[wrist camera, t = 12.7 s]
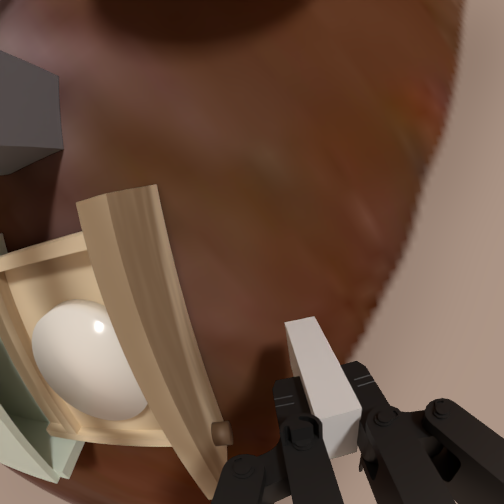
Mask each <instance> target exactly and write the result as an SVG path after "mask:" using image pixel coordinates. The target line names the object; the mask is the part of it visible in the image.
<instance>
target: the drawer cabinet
mask: <svg viewBox="0 0 504 504" xmlns="http://www.w3.org/2000/svg"><path fill="white" fill-rule="evenodd" d="M4 254H7V249H6V245H5V241H4V237H3V233H1V234H0V256H1V255H4ZM49 423H50V421H49V420H48V419H47V417H46V416H45V414H44V413H43V412H42V410H41V409H40V407H39V406H38V404H37V403H36V401H35V399H34V398H33V396H32V395H31V393H30V392H29V390H28V388H27V387H26V385H25V383H24V382H23V380H22V378H21V376H20V375H19V373H18V371H17V369H16V367H15V366H14V364H13V362H12V360H11V358H10V356H9V354H8V352H7V350H6V348H5V346H4V344H3V342H2V340H1V338H0V463H2V464H4V465H7V466H9V467H11V468H14V469H16V470H19V471H21V472H24V473H27V474H29V475H32V476H35V477H38V478H41V479H44V480H47V481H50V482H53V483H58V481H59V478H60V477H63V478H67V479H69V478H70V476H71V473H72V471H73V469H74V466H75V464H76V462H77V459H78V457H79V455H80V452H81V450H82V448H83V445H84V443H85V442H84V441H77V440H71V439H64V438H59V437H53V436H50V435H49V433H48V432H47V431H46V428H47V427H48V425H49Z"/></svg>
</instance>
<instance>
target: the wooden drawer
mask: <svg viewBox="0 0 504 504" xmlns="http://www.w3.org/2000/svg"><path fill="white" fill-rule="evenodd" d="M76 206H77V210H78V215H79V219H80V223H81V228H82V231H81V232H78V233H74V234H70V235H67V236H63V237H60V238H56V239H53V240H49V241H46V242H43V243H39V244H36V245H33V246H29V247H26V248H23V249H20V250H17V251H13V252H10V253H7V254H4V255H1V256H0V338H1V340H2V342H3V344H4V346H5V348H6V350H7V352H8V354H9V356H10V358H11V360H12V362H13V364H14V366H15V367H16V369H17V371H18V373H19V375H20V376H21V378H22V380H23V382H24V383H25V385H26V387H27V388H28V390H29V392H30V393H31V395H32V396H33V398H34V399H35V401H36V403H37V404H38V406H39V407H40V409H41V410H42V412H43V413H44V414H45V416H46V417H47V419H48V420H49V421H50V423H49V425H48V427H47V428H46V431H47V432H48V433H49V435H50V436H53V437H59V438H64V439H71V440H77V441H84V442H92V443H101V444H112V445H126V446H152V447H173V449H174V450H175V452H176V453H177V455H178V457H179V458H180V460H181V461H182V463H183V464H184V466H185V467H186V469H187V470H188V472H189V473H190V475H191V476H192V478H193V479H194V480H195V482H196V483H197V485H198V486H199V487H200V489H201V490H202V492H203V493H204V494H205V496H206V497H207V498H208V500H211V499H213V496H214V493H215V490H216V487H217V484H218V481H219V478H220V475H221V471H222V468H223V466H224V465H225V463H226V462H227V445H233V432H232V427H231V424H230V422H229V421H223V418H222V415H221V413H220V410H219V407H218V404H217V402H216V399H215V396H214V393H213V390H212V387H211V385H210V382H209V379H208V376H207V373H206V370H205V367H204V364H203V361H202V358H201V355H200V351H199V348H198V345H197V342H196V339H195V335H194V332H193V329H192V326H191V322H190V319H189V315H188V312H187V308H186V305H185V301H184V298H183V294H182V290H181V287H180V283H179V279H178V275H177V272H176V268H175V264H174V260H173V256H172V252H171V248H170V243H169V239H168V235H167V231H166V226H165V222H164V217H163V213H162V208H161V203H160V198H159V193H158V188H157V184H156V185H150V186H144V187H138V188H133V189H127V190H122V191H116V192H111V193H106V194H103V195H99V196H96V197H93V198H89V199H86V200H83V201H80V202H77V203H76ZM71 299H85V300H90V301H94V302H97V303H100V304H102V305H104V306H105V307H106V310H107V313H108V315H109V318H110V321H111V323H112V326H113V328H114V331H115V333H116V336H117V338H118V341H119V343H120V346H121V348H122V350H123V353H124V355H125V357H126V360H127V362H128V364H129V366H130V368H131V371H132V373H133V375H134V377H135V379H136V381H137V383H138V385H139V387H140V389H141V391H142V393H143V395H144V397H145V399H146V401H147V403H148V404H147V405H146V407H145V409H144V410H143V411H142V412H141V413H140V414H138V415H137V416H135V417H133V418H130V419H126V420H119V421H112V420H104V419H100V418H96V417H93V416H90V415H88V414H85V413H83V412H81V411H79V410H78V409H76V408H74V407H73V406H71V405H70V404H68V403H67V402H66V401H64V400H63V399H62V398H61V397H60V396H59V395H58V394H57V393H56V392H55V391H54V390H53V389H52V388H51V387H50V386H49V384H48V383H47V382H46V380H45V379H44V377H43V376H42V374H41V372H40V370H39V368H38V366H37V364H36V361H35V359H34V355H33V350H32V334H33V331H34V328H35V326H36V324H37V322H38V321H39V320H40V319H41V318H42V317H43V316H44V315H46V314H47V313H48V312H49V311H50V310H51V309H53V308H54V307H55V306H56V305H58V304H59V303H61V302H63V301H67V300H71Z"/></svg>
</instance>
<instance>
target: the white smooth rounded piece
mask: <svg viewBox="0 0 504 504" xmlns="http://www.w3.org/2000/svg"><path fill="white" fill-rule="evenodd" d="M32 350H33V355H34V359H35V361H36V364H37V366H38V368H39V370H40V372H41V374H42V376H43V377H44V379H45V380H46V382H47V383H48V384H49V386H50V387H51V388H52V389H53V390H54V391H55V392H56V393H57V394H58V395H59V396H60V397H61V398H62V399H63V400H64V401H66V402H67V403H68V404H70V405H71V406H73V407H74V408H76V409H78V410H79V411H81V412H83V413H85V414H88V415H90V416H93V417H96V418H100V419H104V420H112V421H119V420H126V419H130V418H133V417H135V416H137V415H138V414H140V413H141V412H142V411H143V410H144V409H145V407H146V405H147V404H148V403H147V401H146V399H145V397H144V395H143V393H142V391H141V389H140V387H139V385H138V383H137V381H136V379H135V377H134V375H133V373H132V371H131V368H130V366H129V364H128V362H127V360H126V357H125V355H124V353H123V350H122V348H121V346H120V343H119V341H118V338H117V336H116V333H115V331H114V328H113V326H112V323H111V321H110V318H109V315H108V313H107V310H106V307H105V306H104V305H102V304H100V303H97V302H94V301H90V300H85V299H71V300H67V301H63V302H61V303H59V304H58V305H56V306H55V307H54V308H53V309H51V310H50V311H49V312H48V313H47V314H46V315H44V316H43V317H42V318H41V319H40V320H39V321H38V322H37V324H36V326H35V328H34V331H33V334H32Z"/></svg>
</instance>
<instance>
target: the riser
mask: <svg viewBox="0 0 504 504" xmlns="http://www.w3.org/2000/svg"><path fill="white" fill-rule="evenodd" d="M63 149H64V148H63V139H62V130H61V119H60V105H59V78H58V76H57V75H55V74H53V73H51V72H49V71H46V70H44V69H42V68H40V67H38V66H35V65H33V64H31V63H29V62H26V61H24V60H22V59H19V58H17V57H15V56H12V55H10V54H8V53H5V52H3V51H0V175H8V174H11V173H13V172H15V171H17V170H19V169H21V168H23V167H25V166H27V165H29V164H31V163H33V162H36V161H38V160H40V159H42V158H44V157H46V156H49V155H51V154H53V153H56V152H58V151H60V150H63Z"/></svg>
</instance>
